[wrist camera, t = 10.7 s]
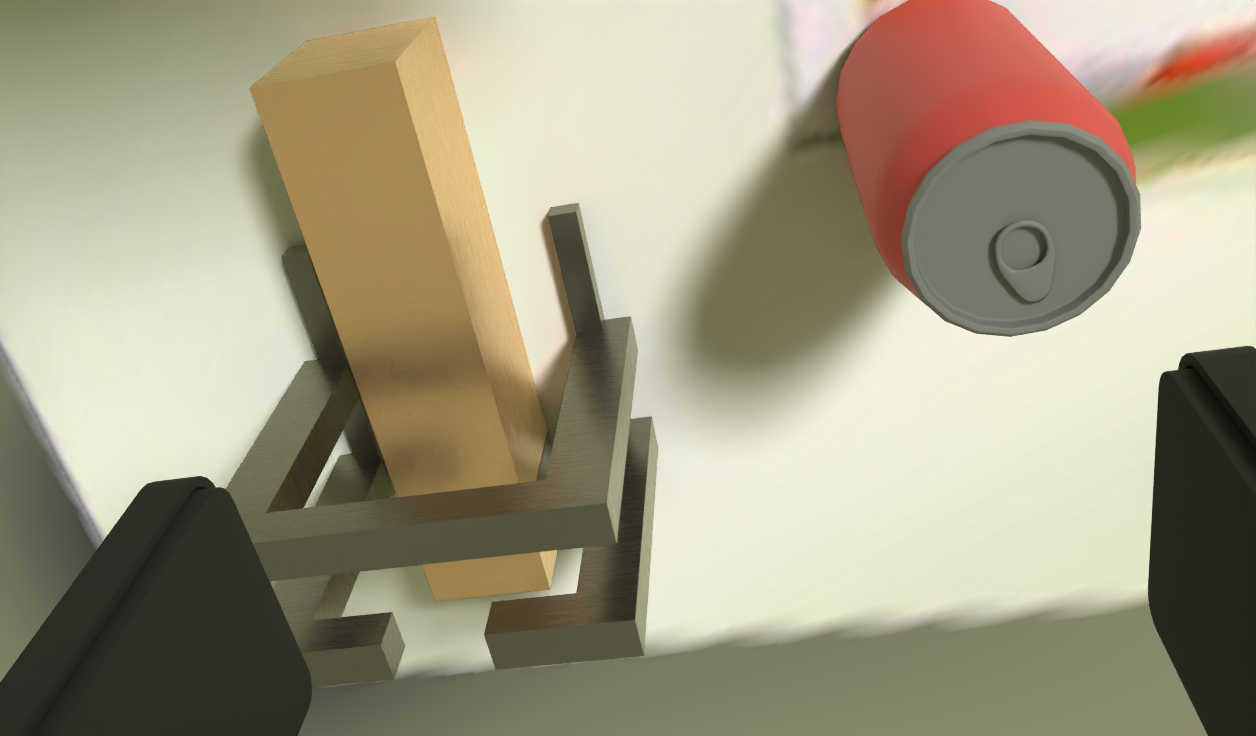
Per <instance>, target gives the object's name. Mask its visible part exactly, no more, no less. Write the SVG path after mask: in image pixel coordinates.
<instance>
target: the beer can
mask: <svg viewBox="0 0 1256 736" xmlns="http://www.w3.org/2000/svg"><path fill="white" fill-rule="evenodd" d="M836 108H837V114H838V121H839V127H840V133H841V136H842V139H843V142H844V146H845V149H846V152H847V155H848V159H849V162H850V165H851V168H852V172H853V175H854V178H855V181H856V184H857V188H858V191H859V194H860V197H861V201H862V204H863V207H864V210H865V214H866V217H867V220H868V223H869V226H870V230H871V233H872V236H873V239H874V243H875V245H876V247H877V249H878V250H879V252H880V254H881V256H882V258H883V259H884V261H885V263H886V265H887V267H888V268H889V270H890V272H891V274H892V275H893V276H894V277H895V278H896V279H897V280H898V281H899V282H900V283H901V284H903V285H904V286H905V287H906V288H907V289H908V290H909V291H911V292H912V293H913V294H914V295H915V296H916V297H918V298H919V299H920V300H921V301H922V302H923V303H925V304H926V305H927V306H928V307H929V308H931V309H932V310H933V311H934V312H935V313H936V314H938V315H939V316H940V317H941V318H942V319H943V320H944V321H946V322H949V323H951V324H954V325H956V326H959V327H961V328H963V329H966V330H968V331H971V332H973V333H976V334H987V335H998V336H1009V337H1011V336H1017V335H1022V334H1028V333H1034V332H1039V331H1045V330H1048V329H1050V328H1052V327H1054V326H1057V325H1059V324H1061V323H1063V322H1065V321H1068V320H1070V319H1072V318H1074V317H1076V316H1078V315H1080V314H1082V313H1083V312H1084V311H1085V310H1087V309H1088V308H1089V307H1090V306H1091V305H1093V304H1094V303H1095V302H1096V301H1098V300H1099V299H1100V298H1101V297H1102V296H1104V295H1105V294H1106V293H1107V292H1109V290H1110V289H1111V288H1112V286H1113V285H1114V283H1115V282H1116V281H1117V279H1118V278H1119V276H1120V275H1121V274H1122V272H1123V271H1124V269H1125V268H1126V266H1127V265H1128V264H1129V262H1130V260H1131V257H1132V254H1133V251H1134V248H1135V245H1136V242H1137V239H1138V236H1139V232H1140V229H1141V214H1140V193H1139V191H1138V189H1137V186H1136V172H1135V164H1134V160H1133V156H1132V153H1131V151H1130V148H1129V146H1128V144H1127V141H1126V139H1125V137H1124V134H1123V132H1122V130H1121V127H1120V125H1119V122H1118V120H1117V119H1116V118H1115V117H1114V116H1113V115H1112V114H1111V113H1110V112H1109V111H1108V110H1107V109H1106V108H1105V107H1104V106H1103V105H1102V104H1101V103H1100V102H1099V101H1098V100H1097V99H1096V98H1095V97H1094V96H1093V95H1092V94H1091V93H1090V92H1089V91H1088V90H1087V89H1086V88H1085V87H1084V86H1083V85H1082V84H1081V83H1080V82H1079V81H1078V80H1077V79H1076V78H1075V77H1074V76H1073V75H1072V74H1071V73H1070V72H1069V71H1068V70H1067V69H1066V68H1065V67H1064V66H1063V65H1062V64H1061V63H1060V62H1059V61H1058V60H1057V59H1056V58H1055V57H1054V56H1053V55H1052V54H1051V53H1050V52H1049V51H1048V50H1047V49H1046V48H1045V47H1044V46H1043V45H1042V44H1041V43H1040V42H1039V41H1038V40H1037V39H1036V38H1035V37H1034V36H1033V35H1032V34H1031V33H1030V32H1029V31H1028V30H1027V29H1026V28H1025V27H1024V26H1023V25H1022V24H1021V23H1020V22H1019V21H1018V20H1017V19H1016V18H1015V17H1014V16H1013V15H1012V14H1011V13H1010V12H1009V11H1008V10H1007V9H1006V8H1005V7H1003V6H1001V5H998V4H996V3H994V2H992V1H990V0H908V1H907V2H905V3H903V4H901V5H900V6H898V7H896V8H894V9H893V10H891V11H889V12H887V13H886V14H884V15H882V16H880V17H879V18H878V19H877V20H876V21H875V22H874V23H873V24H872V26H871V27H870V28H869V29H868V30H867V31H866V32H865V33H864V34H863V35H862V36H861V37H860V38H859V39H858V40H857V41H856V43H855V45H854V47H853V49H852V51H851V52H850V54H849V56H848V58H847V60H846V62H845V64H844V66H843V68H842V70H841V73H840V79H839V85H838V91H837V97H836Z"/></svg>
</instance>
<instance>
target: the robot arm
mask: <svg viewBox="0 0 1256 736" xmlns="http://www.w3.org/2000/svg"><path fill="white" fill-rule="evenodd" d="M1148 598H1149V606H1150V611H1151V615H1152V618H1153V622H1154V625H1155V627H1156V630H1157V632H1158V634H1159V636H1160V638H1161V640H1162V642H1163V644H1164V646H1165V648H1166V650H1167V652H1168V654H1169V657H1170V659H1171V661H1172V663H1173V665H1174V667H1175V669H1176V671H1177V673H1178V675H1179V677H1180V679H1181V681H1182V683H1183V685H1184V687H1185V689H1186V691H1187V693H1188V696H1189V697H1190V700H1191V702H1192V704H1193V706H1194V708H1195V710H1196V712H1197V714H1198V716H1199V718H1200V720H1201V722H1202V724H1203V726H1204V728H1205V730H1206V732H1207V734H1208V736H1256V349H1255V348H1254V347H1252V346H1243V347H1235V348H1226V349H1218V350H1210V351H1202V352H1194V353H1186V354H1185V355H1184V356H1183V357H1182V358H1181V361H1180V363H1179V368H1178V370H1174V371H1166V372H1164V373H1163V374H1162V375H1161V378H1160V382H1159V392H1158V411H1157V429H1156V448H1155V467H1154V486H1153V505H1152V524H1151V542H1150V561H1149V580H1148ZM311 695H312V682H311V675H310V672H309V669H308V667H307V664H306V662H305V660H304V658H303V655H302V653H301V651H300V649H299V646H298V644H297V642H296V640H295V637H294V635H293V633H292V631H291V628H290V626H289V624H288V622H287V619H286V617H285V615H284V613H283V610H282V608H281V606H280V604H279V601H278V599H277V597H276V595H275V592H274V590H273V588H272V586H271V583H270V581H269V579H268V577H267V574H266V572H265V570H264V568H263V565H262V563H261V561H260V559H259V556H258V554H257V552H256V550H255V547H254V545H253V543H252V541H251V538H250V536H249V534H248V532H247V530H246V527H245V525H244V523H243V521H242V518H241V516H240V514H239V512H238V509H237V507H236V505H235V503H234V500H233V498H232V497H231V495H230V493H229V492H228V491H227V490H226V489H224V488H220V487H218V488H216V487H215V486H214V484H213V483H212V482H211V481H210V480H209V479H208V478H205V477H202V476H197V477H188V478H180V479H172V480H164V481H156V482H152V483H148V484H146V485H145V486H144V487H143V488H142V489H141V490H140V492H139V493H138V494H137V496H136V497H135V498H134V500H133V501H132V502H131V504H130V505H129V507H128V508H127V509H126V511H125V512H124V513H123V515H122V516H121V518H120V519H119V520H118V522H117V523H116V524H115V526H114V527H113V529H112V530H111V531H110V533H109V534H108V535H107V537H106V538H105V540H104V541H103V542H102V544H101V545H100V546H99V548H98V549H97V550H96V552H95V553H94V555H93V556H92V557H91V559H90V560H89V561H88V563H87V564H86V566H85V567H84V568H83V570H82V571H81V573H80V574H79V575H78V577H77V578H76V579H75V581H74V582H73V583H72V585H71V586H70V588H69V589H68V590H67V592H66V593H65V594H64V596H63V597H62V599H61V600H60V601H59V603H58V604H57V606H56V607H55V608H54V609H53V611H52V612H51V614H50V615H49V616H48V618H47V619H46V620H45V622H44V623H43V625H42V626H41V627H40V629H39V630H38V631H37V633H36V634H35V636H34V637H33V638H32V640H31V641H30V642H29V644H28V645H27V647H26V648H25V649H24V651H23V652H22V653H21V655H20V656H19V658H18V659H17V660H16V662H15V663H14V664H13V666H12V667H11V668H10V670H9V671H8V673H7V674H6V675H5V677H4V678H3V680H2V681H1V682H0V736H298V733H299V731H300V728H301V726H302V723H303V721H304V718H305V716H306V713H307V711H308V708H309V705H310V702H311Z"/></svg>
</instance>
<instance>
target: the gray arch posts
mask: <svg viewBox="0 0 1256 736" xmlns="http://www.w3.org/2000/svg"><path fill="white" fill-rule="evenodd" d="M549 220H550V225H551V229H552V233H553V237H554V241H555V246H556V250H557V254H558V258H559V262H560V267H561V271H562V275H563V279H564V284H565V288H566V292H567V296H568V300H569V305H570V309H571V313H572V317H573V321H574V326H575V330H576V338H575V343H574V348H573V353H572V357H571V362H570V367H569V371H568V376H567V381H566V386H565V390H564V395H563V400H562V404H561V409H560V414H559V419H558V423H557V428H556V433H555V438H554V442H553V447H552V452H551V456H550V461H549V466H548V471H547V475H546V480H541V481H533V482H524V483H516V484H507V485H499V486H490V487H482V488H473V489H465V490H456V491H448V492H439V493H431V494H422V495H414V496H405V497H397V498H390V496H394V494H395V492H396V491H395V489H394V486H393V483H392V480H391V478H390V475H389V472H388V469H387V467H386V464H385V461H384V458H383V455H382V453H381V450H380V447H379V444H378V442H377V439H376V436H375V433H374V431H373V428H372V425H371V422H370V420H369V417H368V414H367V411H366V409H365V406H364V403H363V400H362V397H361V395H360V392H359V389H358V386H357V384H356V381H355V378H354V375H353V373H352V370H351V367H350V364H349V362H348V359H347V356H346V353H345V350H344V348H343V345H342V342H341V339H340V337H339V334H338V331H337V328H336V326H335V323H334V320H333V317H332V315H331V312H330V309H329V306H328V304H327V301H326V298H325V295H324V292H323V290H322V287H321V284H320V281H319V279H318V276H317V273H316V270H315V268H314V265H313V262H312V259H311V257H310V254H309V251H308V248H307V245H304V246H298V247H291V248H288V249H287V250H286V252H285V253H284V254H283V256H282V260H283V263H284V265H285V268H286V271H287V274H288V276H289V279H290V282H291V284H292V287H293V290H294V292H295V295H296V298H297V301H298V303H299V306H300V309H301V311H302V314H303V317H304V319H305V322H306V325H307V328H308V330H309V333H310V336H311V338H312V341H313V344H314V346H315V349H316V352H317V355H318V357H319V360H313V361H305V362H304V364H303V365H302V367H301V368H300V370H299V372H298V373H297V375H296V376H295V378H294V380H293V381H292V383H291V384H290V386H289V388H288V389H287V391H286V393H285V394H284V396H283V397H282V399H281V401H280V402H279V404H278V405H277V407H276V409H275V410H274V412H273V413H272V415H271V417H270V418H269V420H268V422H267V423H266V425H265V426H264V428H263V430H262V431H261V433H260V434H259V436H258V438H257V439H256V441H255V442H254V444H253V446H252V447H251V449H250V451H249V452H248V454H247V455H246V457H245V459H244V460H243V462H242V463H241V465H240V467H239V468H238V470H237V471H236V473H235V475H234V476H233V478H232V480H231V481H230V483H229V484H228V486H227V488H226V490H227V491H228V492H229V493H230V495H231V497H232V498H233V500H234V503H235V505H236V507H237V509H238V512H239V514H240V516H241V518H242V521H243V523H244V525H245V527H246V530H247V532H248V534H249V536H250V538H251V541H252V543H253V545H254V547H255V550H256V552H257V554H258V556H259V559H260V561H261V563H262V565H263V568H264V570H265V572H266V574H267V577H268V579H269V581H277V580H278V582H277V584H276V586H275V588H274V592H275V595H276V597H277V599H278V601H279V604H280V606H281V608H282V610H283V613H284V615H285V617H286V619H287V622H288V624H289V626H290V628H291V631H292V633H293V635H294V637H295V640H296V642H297V644H298V646H299V649H300V651H301V653H302V655H303V658H304V660H305V662H306V664H307V667H308V669H309V672H310V675H311V682H312V687H315V686H326V685H336V684H347V683H358V682H368V681H379V680H390V679H394V678H395V675H396V672H397V669H398V666H399V663H400V660H401V657H402V654H403V651H404V648H405V644H404V642H403V639H402V636H401V634H400V631H399V629H398V626H397V623H396V621H395V618H394V615H393V613H392V612H390V613H380V614H370V615H360V616H351V617H341V616H342V613H343V611H344V609H345V606H346V604H347V601H348V599H349V596H350V594H351V591H352V589H353V586H354V584H355V581H356V579H357V576H358V574H359V572H360V571H369V570H378V569H387V568H396V567H406V566H415V565H424V564H433V563H443V562H452V561H461V560H470V559H479V558H489V557H498V556H507V555H516V554H526V553H535V552H544V551H553V550H562V549H572V548H581V547H583V553H582V560H581V566H580V573H579V580H578V586H577V593H575V594H565V595H555V596H546V597H536V598H526V599H516V600H507V601H497V602H492V605H491V609H490V613H489V617H488V621H487V625H486V629H485V633H484V636H485V639H486V642H487V645H488V648H489V651H490V654H491V657H492V660H493V663H494V666H495V669H496V670H497V669H508V668H518V667H529V666H540V665H551V664H561V663H572V662H583V661H593V660H604V659H615V658H625V657H636V656H644V647H645V633H646V618H647V603H648V589H649V574H650V559H651V545H652V530H653V515H654V501H655V486H656V472H657V457H658V445H657V440H656V435H655V431H654V426H653V421H652V417H645V418H637V419H630V418H631V409H632V400H633V391H634V382H635V373H636V363H637V354H638V349H637V344H636V340H635V335H634V330H633V325H632V321H631V317H624V318H616V319H609V320H604V315H603V311H602V306H601V302H600V297H599V293H598V288H597V284H596V279H595V275H594V270H593V266H592V261H591V257H590V252H589V248H588V243H587V239H586V234H585V230H584V225H583V221H582V216H581V212H580V207H579V203H576V204H570V205H563V206H557V207H551V210H550V213H549ZM344 427H345V430H346V433H347V436H348V438H349V441H350V444H351V446H352V449H353V452H354V454H348V455H340V457H339V459H338V461H337V463H336V465H335V467H334V469H333V471H332V473H331V475H330V477H329V479H328V481H327V483H326V485H325V487H324V489H323V491H322V493H321V495H320V497H319V499H318V501H317V503H316V505H315V507H312V508H304V506H305V504H306V502H307V500H308V498H309V496H310V494H311V492H312V490H313V488H314V486H315V484H316V482H317V480H318V478H319V476H320V474H321V472H322V470H323V468H324V466H325V464H326V462H327V460H328V458H329V456H330V454H331V452H332V451H333V449H334V447H335V445H336V443H337V441H338V439H339V437H340V435H341V433H342V431H343V429H344ZM303 508H304V509H303Z"/></svg>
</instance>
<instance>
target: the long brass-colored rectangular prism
mask: <svg viewBox="0 0 1256 736" xmlns="http://www.w3.org/2000/svg"><path fill="white" fill-rule="evenodd" d="M250 91H251V94H252V96H253V99H254V102H255V105H256V107H257V110H258V113H259V116H260V118H261V121H262V124H263V127H264V129H265V132H266V135H267V138H268V140H269V143H270V146H271V149H272V152H273V154H274V157H275V160H276V163H277V165H278V168H279V171H280V174H281V176H282V179H283V182H284V185H285V187H286V190H287V193H288V196H289V199H290V201H291V204H292V207H293V210H294V212H295V215H296V218H297V221H298V223H299V226H300V229H301V232H302V234H303V237H304V240H305V243H306V245H307V248H308V251H309V254H310V257H311V259H312V262H313V265H314V268H315V270H316V273H317V276H318V279H319V281H320V284H321V287H322V290H323V292H324V295H325V298H326V301H327V304H328V306H329V309H330V312H331V315H332V317H333V320H334V323H335V326H336V328H337V331H338V334H339V337H340V339H341V342H342V345H343V348H344V350H345V353H346V356H347V359H348V362H349V364H350V367H351V370H352V373H353V375H354V378H355V381H356V384H357V386H358V389H359V392H360V395H361V397H362V400H363V403H364V406H365V409H366V411H367V414H368V417H369V420H370V422H371V425H372V428H373V431H374V433H375V436H376V439H377V442H378V444H379V447H380V450H381V453H382V455H383V458H384V461H385V464H386V467H387V469H388V472H389V475H390V478H391V480H392V483H393V486H394V489H395V491H396V494H397V497H405V496H414V495H422V494H431V493H439V492H448V491H456V490H465V489H473V488H482V487H490V486H499V485H507V484H516V483H524V482H533V481H541V480H546V475H547V471H548V466H549V461H550V456H551V452H552V444H551V440H550V436H549V433H548V431H547V427H546V423H545V420H544V416H543V412H542V409H541V405H540V401H539V398H538V394H537V390H536V387H535V383H534V379H533V375H532V372H531V368H530V364H529V361H528V357H527V353H526V350H525V346H524V342H523V339H522V335H521V331H520V328H519V324H518V320H517V317H516V313H515V309H514V305H513V302H512V298H511V294H510V291H509V287H508V283H507V280H506V276H505V272H504V269H503V265H502V261H501V258H500V254H499V250H498V246H497V243H496V239H495V235H494V232H493V228H492V224H491V221H490V217H489V213H488V210H487V206H486V202H485V199H484V195H483V191H482V187H481V184H480V180H479V176H478V173H477V169H476V165H475V162H474V158H473V154H472V151H471V147H470V143H469V140H468V136H467V132H466V129H465V125H464V121H463V117H462V114H461V110H460V106H459V103H458V99H457V95H456V92H455V88H454V84H453V81H452V77H451V73H450V70H449V66H448V62H447V58H446V55H445V51H444V47H443V44H442V40H441V36H440V33H439V29H438V25H437V22H436V18H435V17H431V18H426V19H420V20H415V21H410V22H404V23H399V24H394V25H388V26H383V27H378V28H373V29H367V30H362V31H357V32H351V33H346V34H341V35H335V36H330V37H325V38H319V39H314V40H309V41H306V42H305V43H304V44H302V45H301V46H300V47H299V48H298V49H296V50H295V51H294V52H293V53H291V54H290V55H289V56H288V57H287V58H285V59H284V60H283V61H282V62H280V63H279V64H278V65H277V66H276V67H274V68H273V69H272V70H271V71H269V72H268V73H267V74H266V75H265V76H263V77H262V78H261V79H260V80H258V81H257V82H256V83H255V84H254V85H252V86H251V87H250ZM556 556H557V550H553V551H544V552H535V553H526V554H516V555H507V556H498V557H489V558H479V559H470V560H461V561H452V562H443V563H433V564H424V565H422V566H423V569H424V572H425V574H426V577H427V580H428V583H429V585H430V588H431V591H432V594H433V596H434V599H435V602H437V601H446V600H455V599H465V598H474V597H483V596H493V595H502V594H511V593H521V592H530V591H539V590H549V589H551V583H552V578H553V572H554V567H555V561H556Z"/></svg>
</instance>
